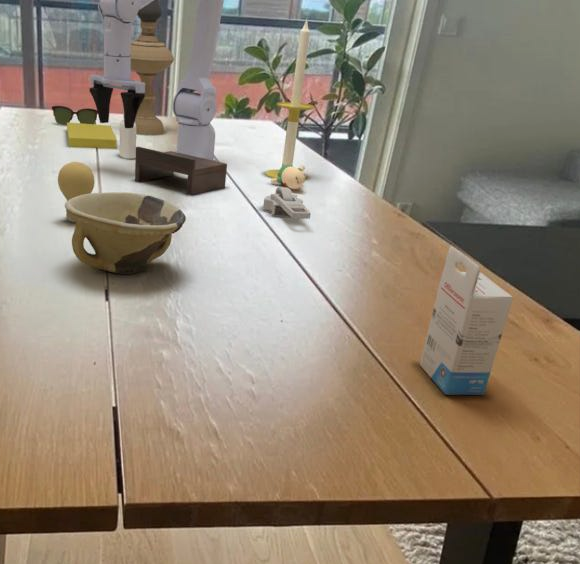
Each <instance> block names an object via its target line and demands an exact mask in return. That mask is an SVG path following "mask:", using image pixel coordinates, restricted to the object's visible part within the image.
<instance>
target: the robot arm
mask: <svg viewBox="0 0 580 564" xmlns="http://www.w3.org/2000/svg"><path fill="white" fill-rule="evenodd" d="M152 1H154V0H99V2H98V3H97V10H98V13H99V15H100V17H101V20H102V23H101V25H102V27H103V74H102V75H101V74H90V75H89V85H90V86H92V87H89V93H90V95H91V97H92V99H93V101H94V104H95V107H96V110H97V111H98V114H97V117H98V120H99V123H100V124H108V123H109V120H110V106H111V99H112V96H113V92H114V89H116V90H121V92H120V98H121V101H122V106H123V107H122V108H123V112H124V119H123V120H124V125H125V128H133V126H134V122H135V118H136V115H137V112H138V109H139V107H140V105H141V103H142V101H143V99H144V97H145V94H144V93H145V83H144V82H141V81H139V80H135V79H132V78H131V73H132V72H131V70H132V69H131V41H132V26H133V25H132V24H133V23H132V22H134V21H135V20H136V18H137V17H138V15H137V14H138V11H139V10H140V9H142V8H143V7H145V6H146V5H148V4H149V3H150V2H152ZM224 3H225V0H199V1H198V7H197V14H196V20H195V24H194V25H195V26H194V31H193V37H192V43H191V50H190V55H189V61H188V68H187V74H186V76H185V77H184V78H183V79H181V81H180V82H178V83H177V89H176V92H175V95H174V96H173V98H172V103H171V109H172V113H173V115H174V116H175V117H176V118H175V120H176V122H178V123H177V136H176V137H177V140H176V152H177V153H182V154H186V155H191V156H195V157H199V158H204V159H208V160H213V161H217V159H214V157H215V145H216V130H215V128H214V125H212V124H211V122H212V121H213V120H214V118H215V116H216V113H217V93H218V91H217V88H216V87H215V86H214V85H213V84H212V82H211V75H212V71H213V66H214V65H213V64H214V59H215V53H216V47H217V41H218V36H219V31H220V25H221V18H222V14H223V8H224ZM196 91H197V92H196Z"/></svg>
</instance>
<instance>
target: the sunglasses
mask: <svg viewBox="0 0 580 564" xmlns="http://www.w3.org/2000/svg"><path fill="white" fill-rule="evenodd" d="M51 111H52V115H53V117H54V120H55V122H56V124H58V125H59V126H60V125H61V126H67V122H69V123H71V121H72V119H73V117H74V115H76V119H77V121H78V123H82V124H95V125H96V121H97V119H98V111H97V109H94V108H89V107H88V108H81V109H79V110H77V111H76V110H75V111H74V110H73V109H72V108H70V107H67V106H64V105H52V106H51Z"/></svg>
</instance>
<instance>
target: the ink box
mask: <svg viewBox="0 0 580 564" xmlns="http://www.w3.org/2000/svg"><path fill="white" fill-rule="evenodd" d="M458 264H459V265H462V267H463V268H464V269H465V271H461V270H459V269H458V268H457V265H458ZM513 300H514V297H513V296H512V295H511V294H510V293H508V292H507V291H506V290H504V289H503V288H502V287H501V286H499V285H498V284H496V283H495V282H494V281H493V280H491V279H490V278H488V276H486V275H485V274H484V273H483V272H481V267H480V266H479V264H477V263H476V262H475V261H473V260H472V259H471V258H469V257H468V256H467V255H466V254H464V253H463V252H461V251H459V250H458V249H457V248H456V247H454V246H452V245H451V246H450V247H449V248H448V252H447V255H446V259H445V264H444V267H443V271H442V274H441V277H440V281H439V285H438V289H437V293H436V298H435V302H434V306H433V310H432V314H431V318H430V322H429V326H428V331H427V334H426V338H425V343H424V346H423V350H422V353H421V358H420V361H419V366H420V367H421V368H422V370H423V371H424V372H425V373H426V374H427V375H428V376H429V378H430V379H431V380H432V381H433V383H435V385H436V386H437V387H438V388H439V390H440V391H441V392H442V393H443V394H444V395H448V396H455V395H456V396H461V395H462V396H465V395H466V396H483V395H484V394H485V391H486V388H487V385H488V382H489V378H490V376H491V372H492V369H493V365H494V362H495V359H496V356H497V353H498V349H499V346H500V342H501V339H502V336H503V333H504V329H505V328H506V327H505V326H506V324H507V323H506V322H507V319H508V317H509V314H510V310H511V307H512V303H513Z"/></svg>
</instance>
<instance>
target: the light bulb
mask: <svg viewBox="0 0 580 564" xmlns="http://www.w3.org/2000/svg"><path fill="white" fill-rule="evenodd" d="M95 183H96V182H95V175H94V172H93V171H92V169H91V167H90V166H89V165H88V164H85V163H84V162H83V163H82V162H79V161H72V162H68V163H66V164H64V165H63V166H61V168H60V170H59V172H58V175H57V184H58V188H59V190H60V192H61V193H62V195H63V196H64V198H65V199H66V202H67V201H68V200H70V199H72V198H74V197H77V196H80V195H84V194H90V193H93V190H94V188H95ZM65 218H66V219H67V220H68V221H69V222H71V223H76V221H75V220H74V219H71V218H70V217H68V215H67V210H66V209H65Z"/></svg>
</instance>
